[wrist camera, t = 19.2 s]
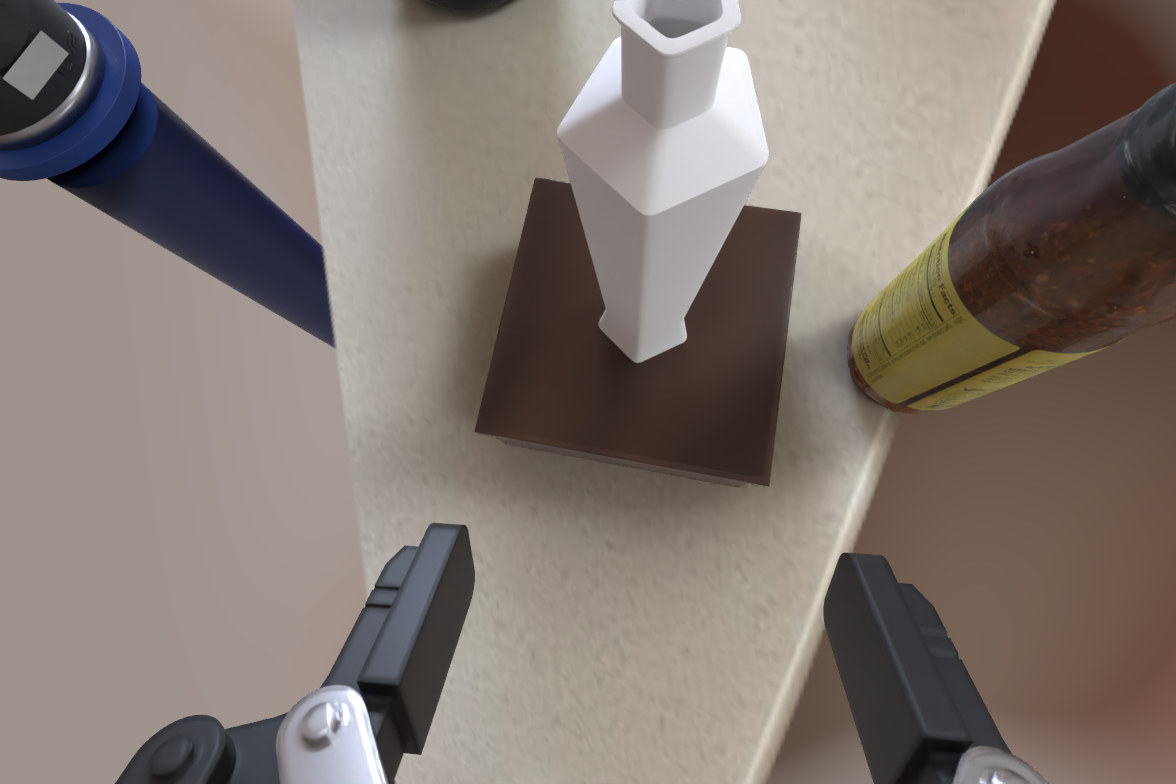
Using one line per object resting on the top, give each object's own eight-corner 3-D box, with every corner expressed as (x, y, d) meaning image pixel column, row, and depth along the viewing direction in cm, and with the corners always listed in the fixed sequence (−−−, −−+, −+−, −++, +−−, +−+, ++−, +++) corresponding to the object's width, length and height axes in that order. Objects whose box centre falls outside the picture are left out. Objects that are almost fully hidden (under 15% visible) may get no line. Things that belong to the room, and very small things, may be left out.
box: (499, 446, 28) (473, 431, 23) (548, 231, 31) (534, 176, 26) (742, 492, 27) (769, 486, 22) (772, 263, 29) (801, 212, 24)
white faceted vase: (582, 361, 23) (515, 103, 9) (601, 269, 24) (569, -103, 10) (688, 380, 23) (802, 138, 8) (703, 285, 24) (830, -82, 9)
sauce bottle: (981, 329, 28) (1805, -108, 8) (943, 439, 27) (1789, 229, 7) (855, 281, 29) (1333, -207, 9) (814, 385, 28) (1257, 76, 8)
